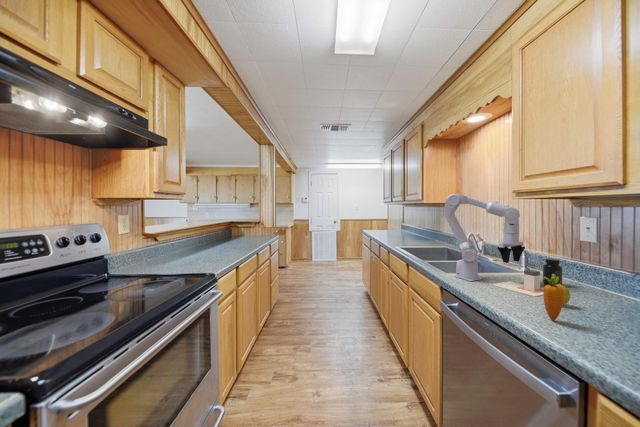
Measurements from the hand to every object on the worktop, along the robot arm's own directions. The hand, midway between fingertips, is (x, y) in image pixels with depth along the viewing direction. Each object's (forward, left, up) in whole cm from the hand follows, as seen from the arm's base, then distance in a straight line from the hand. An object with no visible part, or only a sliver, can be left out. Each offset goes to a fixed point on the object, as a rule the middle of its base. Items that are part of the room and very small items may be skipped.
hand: (511, 261), depth 126 cm
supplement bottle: (+9, +15, -11) cm, 20 cm away
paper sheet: (+7, -4, -10) cm, 13 cm away
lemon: (+25, -12, -11) cm, 30 cm away
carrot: (+32, -30, -11) cm, 45 cm away
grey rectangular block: (+10, -2, -10) cm, 14 cm away
